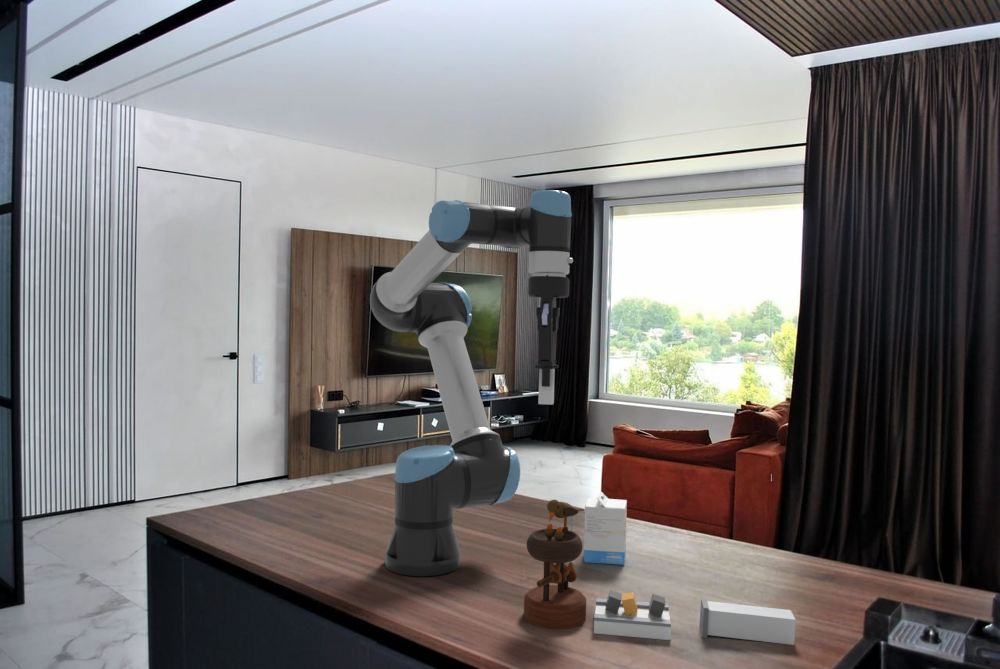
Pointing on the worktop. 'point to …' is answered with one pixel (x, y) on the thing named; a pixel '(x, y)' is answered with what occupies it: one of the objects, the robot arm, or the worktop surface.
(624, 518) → the ink box
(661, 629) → the breaker board
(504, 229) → the robot arm
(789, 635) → the post
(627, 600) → the paddle
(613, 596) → the paddle
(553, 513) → the music box
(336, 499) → the worktop surface
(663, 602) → the paddle
